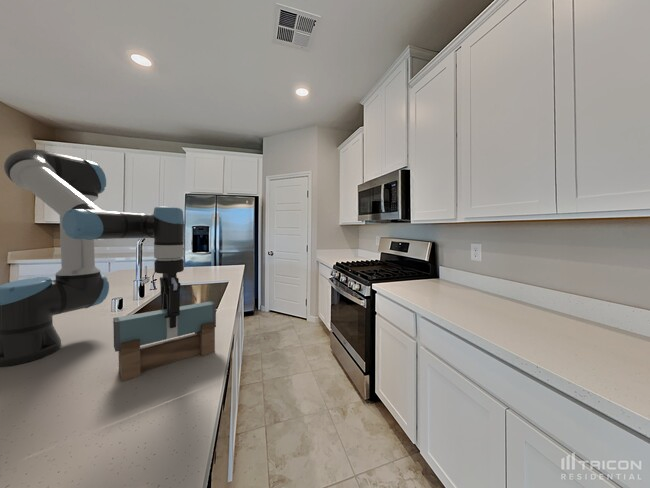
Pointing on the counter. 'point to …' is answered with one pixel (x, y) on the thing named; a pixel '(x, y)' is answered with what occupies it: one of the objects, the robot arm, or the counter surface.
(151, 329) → the rail
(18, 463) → the counter surface
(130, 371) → the wooden slotted stand
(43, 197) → the robot arm
